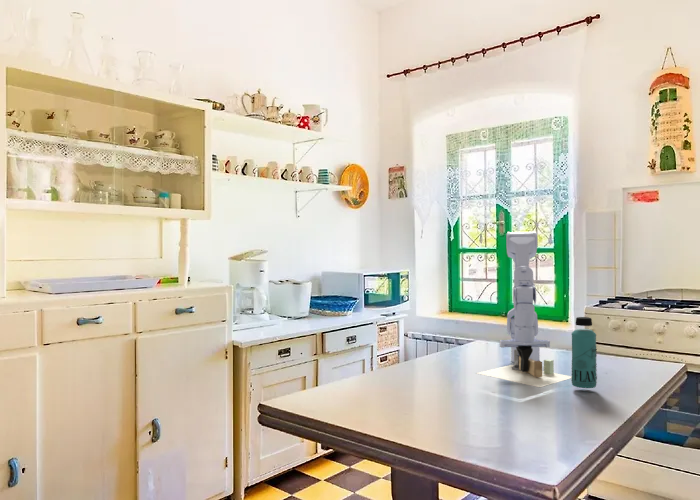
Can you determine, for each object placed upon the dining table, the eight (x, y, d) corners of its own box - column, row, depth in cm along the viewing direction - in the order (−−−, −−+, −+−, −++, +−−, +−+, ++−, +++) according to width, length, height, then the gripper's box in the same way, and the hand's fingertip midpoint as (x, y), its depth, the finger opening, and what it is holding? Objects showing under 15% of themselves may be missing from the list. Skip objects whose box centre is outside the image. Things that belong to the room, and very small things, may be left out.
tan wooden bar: (519, 369, 170) (518, 355, 170) (523, 368, 171) (523, 354, 171) (537, 377, 160) (537, 362, 160) (542, 377, 160) (542, 361, 160)
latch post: (547, 374, 167) (547, 359, 167) (553, 376, 166) (553, 360, 166) (543, 376, 166) (543, 360, 166) (549, 377, 165) (549, 361, 165)
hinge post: (516, 369, 175) (516, 348, 175) (527, 371, 172) (527, 350, 172) (509, 371, 173) (508, 349, 173) (519, 373, 170) (519, 351, 170)
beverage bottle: (569, 392, 148) (569, 318, 147) (572, 386, 154) (572, 315, 153) (596, 395, 145) (595, 319, 144) (598, 389, 150) (597, 316, 150)
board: (511, 367, 179) (511, 364, 178) (575, 379, 161) (575, 377, 161) (475, 375, 167) (475, 373, 167) (540, 390, 150) (540, 387, 150)
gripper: (503, 328, 161) (504, 374, 161) (553, 327, 161) (553, 374, 161) (497, 324, 168) (497, 368, 168) (545, 324, 168) (545, 368, 168)
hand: (524, 371), depth 165 cm, fingers closed, pressing on tan wooden bar
